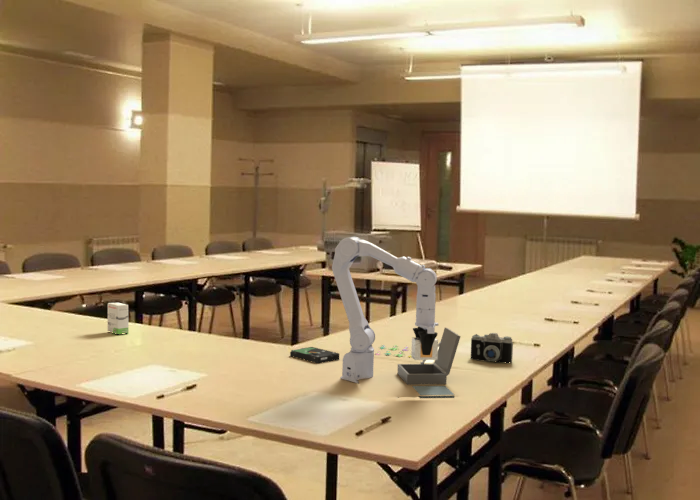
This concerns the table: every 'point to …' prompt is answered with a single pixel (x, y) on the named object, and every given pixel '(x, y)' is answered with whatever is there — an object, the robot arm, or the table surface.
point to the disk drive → (315, 354)
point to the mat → (433, 391)
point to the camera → (491, 348)
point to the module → (417, 350)
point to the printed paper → (401, 352)
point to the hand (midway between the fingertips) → (424, 353)
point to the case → (439, 368)
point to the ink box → (118, 318)
